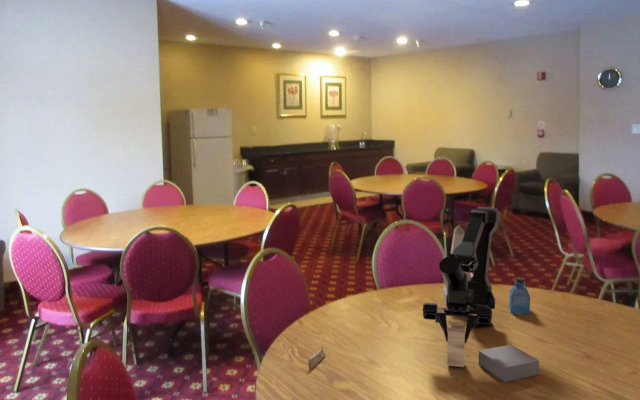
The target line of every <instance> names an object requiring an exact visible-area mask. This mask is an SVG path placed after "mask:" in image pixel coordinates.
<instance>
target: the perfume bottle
mask: <svg viewBox="0 0 640 400" xmlns="http://www.w3.org/2000/svg"><path fill="white" fill-rule="evenodd" d="M525 280H526V278H525V277H523V276H516V277H515V281H514V285H512V287H511V288H510V290H509V298H508V299H509V300H508V301H509V303H508V308H509V311H510V314H516V313H517V315H518V314H519V313H520V314H519V315H530V311H531V310H530V308H531V296H530V294H529V291H528V289H527V287H526V281H525Z"/></svg>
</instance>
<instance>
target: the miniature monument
mask: <svg viewBox="0 0 640 400" xmlns="http://www.w3.org/2000/svg"><path fill="white" fill-rule="evenodd" d="M464 234H465V231H464V229H463V228H462V227H461V225H460V224H458V225H457V226H455V228H454V229H453V235H452V242H451V248H450V253H451V254H452V253H453V251H454V249H455V248H456V247H457V246H459V245H460V244H461V242H462V240H463V237H464ZM464 273H465V274H466V275H467V276H468V281H470V280H471V278H472V277H473V272H471V273H469V272H464ZM442 277H443V281H444V282H445V285H444V286H443V289H442V290H443V291H442V293H443V295H442V297H443V298H442V299H443V303H444V305H445V308H447V306H446V300H447V286H448V281H446V280H445V278H444V276H443V275H442ZM468 308H469V306H468ZM468 308H467V309H468Z"/></svg>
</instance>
